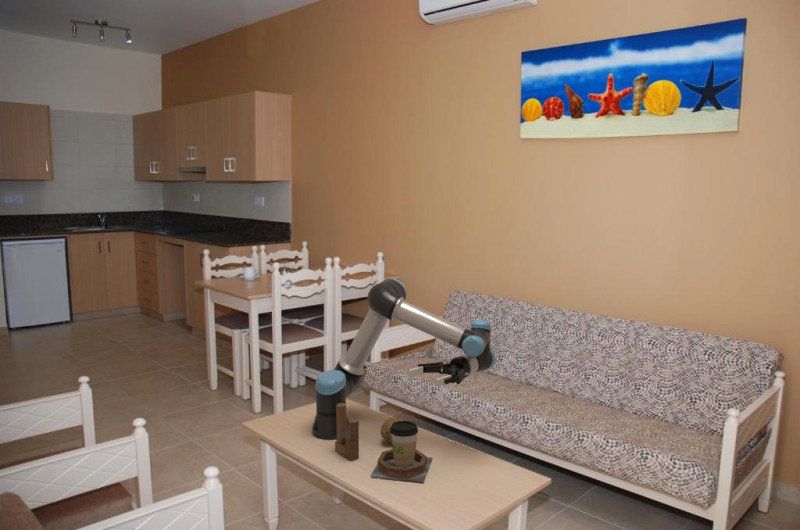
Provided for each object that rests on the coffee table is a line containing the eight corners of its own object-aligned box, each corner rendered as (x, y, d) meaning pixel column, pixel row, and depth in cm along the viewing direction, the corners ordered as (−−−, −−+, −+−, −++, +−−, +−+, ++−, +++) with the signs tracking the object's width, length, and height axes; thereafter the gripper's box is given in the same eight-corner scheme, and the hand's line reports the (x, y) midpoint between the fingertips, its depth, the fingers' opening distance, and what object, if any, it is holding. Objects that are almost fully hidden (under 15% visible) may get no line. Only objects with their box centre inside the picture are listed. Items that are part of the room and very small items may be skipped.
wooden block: (350, 461, 216) (350, 412, 213) (334, 450, 224) (333, 404, 221) (359, 458, 218) (358, 410, 215) (343, 448, 226) (342, 401, 224)
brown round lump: (384, 449, 225) (384, 424, 223) (377, 440, 233) (377, 415, 232) (407, 446, 228) (407, 420, 226) (399, 436, 236) (399, 412, 235)
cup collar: (383, 454, 221) (383, 444, 220) (432, 459, 217) (432, 449, 217) (370, 477, 204) (370, 467, 203) (423, 483, 200) (423, 473, 199)
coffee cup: (390, 460, 215) (390, 419, 213) (418, 460, 215) (418, 419, 213) (389, 473, 205) (389, 431, 203) (418, 473, 205) (418, 431, 203)
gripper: (489, 383, 218) (448, 398, 204) (439, 368, 236) (398, 380, 222) (489, 363, 217) (449, 376, 203) (439, 349, 235) (398, 360, 221)
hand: (422, 378), depth 213 cm, fingers open, 13 cm apart
